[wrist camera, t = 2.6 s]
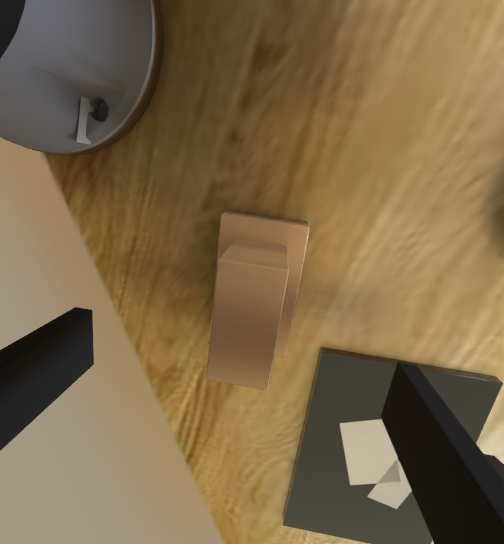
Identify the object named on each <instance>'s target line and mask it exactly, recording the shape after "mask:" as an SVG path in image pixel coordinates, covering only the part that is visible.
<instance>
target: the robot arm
mask: <svg viewBox="0 0 504 544" xmlns="http://www.w3.org/2000/svg"><path fill="white" fill-rule="evenodd" d="M161 58H162V22H161V14H160V8H159V3H158V0H0V137H2V138H3V139H5V140H8V141H10V142H12V143H15V144H18V145H21V146H23V147H26V148H29V149H32V150H36V151H41V152H47V153H54V154H61V155H81V154H88V153H91V152H95V151H98V150H101V149H103V148H106V147H107V146H109V145H111V144H113V143H114V142H116V141H117V140H119V139H120V138H122V137H123V136H124V135H125V134H126V133H127V132H128V131H129V130H130V129H131V128H132V127H133V126H134V125H135V124H136V122H137V121H138V120H139V118H140V117H141V116H142V114H143V112H144V111H145V109H146V107H147V105H148V103H149V101H150V99H151V97H152V95H153V92H154V89H155V86H156V83H157V79H158V75H159V71H160V65H161ZM92 326H93V322H92V310H89V309H83V308H77V307H75V308H73V309H72V310H70V311H68V312H66V313H65V314H63V315H61V316H59V317H58V318H56V319H54V320H52V321H51V322H49V323H47V324H45V325H44V326H42V327H40V328H38V329H37V330H35V331H33V332H31V333H29V334H28V335H26V336H24V337H23V338H21V339H19V340H17V341H15V342H14V343H12V344H10V345H8V346H7V347H5V348H3V349H1V350H0V450H2V449H3V448H4V447H5V446H6V445H7V444H8V443H9V442H10V441H11V440H12V439H13V438H15V437H16V436H17V435H18V434H19V433H20V432H21V431H22V430H23V429H24V428H25V427H26V426H27V425H29V424H30V423H31V422H32V421H33V420H34V419H35V418H36V417H37V416H38V415H39V414H40V413H42V412H43V411H44V410H45V409H46V408H47V407H48V406H49V405H50V404H51V403H52V402H53V401H55V400H56V399H57V398H58V397H59V396H60V395H61V394H62V393H63V392H64V391H65V390H66V389H67V388H69V387H70V386H71V385H72V384H73V383H74V382H75V381H76V380H77V379H78V378H79V377H80V376H82V375H83V374H84V373H85V372H86V371H87V370H88V369H89V368H90V367H91V366H92V365H93V364H94V360H93V359H94V358H93V327H92ZM380 417H381V419H382V421H383V424H384V426H385V428H386V431H387V433H388V435H389V438H390V440H391V443H392V445H393V447H394V450H395V452H396V454H397V457H398V459H399V461H400V464H401V466H402V469H403V471H404V473H405V476H406V478H407V480H408V483H409V485H410V487H411V490H412V492H413V495H414V497H415V499H416V502H417V504H418V506H419V509H420V511H421V513H422V516H423V518H424V521H425V523H426V525H427V528H428V530H429V532H430V535H431V537H432V539H433V542H434V544H504V464H503V463H502V462H500V461H499V460H498V459H497V458H496V457H495V456H492V455H486V454H483V453H482V451H481V450H480V449H479V447H478V446H477V445H476V443H475V442H474V441H473V439H472V438H471V437H470V435H469V434H468V433H467V431H466V430H465V429H464V427H463V426H462V425H461V423H460V422H459V421H458V419H457V418H456V417H455V415H454V414H453V413H452V411H451V410H450V409H449V407H448V406H447V405H446V403H445V402H444V401H443V399H442V398H441V397H440V395H439V394H438V393H437V391H436V390H435V389H434V387H433V386H432V385H431V383H430V382H429V381H428V379H427V378H426V377H425V376H424V374H423V373H422V372H421V370H420V369H419V368H418V366H417V365H413V364H407V363H401V362H397V366H396V369H395V372H394V375H393V378H392V381H391V385H390V388H389V391H388V394H387V397H386V401H385V404H384V407H383V410H382V413H381V416H380Z"/></svg>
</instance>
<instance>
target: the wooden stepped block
mask: <svg viewBox="0 0 504 544" xmlns="http://www.w3.org/2000/svg"><path fill="white" fill-rule="evenodd" d="M309 230H310V226H309V224H308V223H307V222H303V221H296V220H289V219H282V218H275V217H268V216H261V215H254V214H247V213H240V212H233V211H226V212H224V213H222V214H221V219H220V230H219V240H218V250H217V260H216V271H215V281H214V291H213V301H212V312H211V322H210V332H209V342H208V343H209V344H210V345H209V355H208V365H207V375H206V379H207V380H212V381H217V382H223V383H228V384H234V385H239V386H245V387H250V388H256V389H262V390H268V388H269V383H270V377H271V371H272V365H273V360H274V355H275V356H280V357H286V353H287V347H288V342H289V337H290V331H291V326H292V321H293V315H294V310H295V305H296V299H297V294H298V289H299V283H300V278H301V273H302V267H303V262H304V257H305V251H306V246H307V241H308V236H309Z"/></svg>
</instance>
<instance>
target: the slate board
mask: <svg viewBox="0 0 504 544" xmlns="http://www.w3.org/2000/svg"><path fill="white" fill-rule="evenodd" d="M397 362H401V363H407V364H413V365H417V366H418V368H419V369H420V370H421V372H422V373H423V374H424V376H425V377H426V378H427V379H428V381H429V382H430V383H431V385H432V386H433V387H434V389H435V390H436V391H437V393H438V394H439V395H440V397H441V398H442V399H443V401H444V402H445V403H446V405H447V406H448V407H449V409H450V410H451V411H452V413H453V414H454V415H455V417H456V418H457V419H458V421H459V422H460V423H461V425H462V426H463V427H464V429H465V430H466V431H467V433H468V434H469V435H470V437H471V438H472V439H473V441H474V442H475V443H476V442H477V440H478V438H479V435H480V433H481V431H482V429H483V426H484V424H485V422H486V420H487V418H488V415H489V413H490V411H491V409H492V407H493V404H494V402H495V400H496V398H497V395H498V393H499V391H500V389H501V387H502V384H503V383H502V382H501V381H500V380H499V379H498V378H497V377H493V376H487V375H481V374H475V373H469V372H463V371H458V370H452V369H446V368H440V367H434V366H428V365H422V364H416V363H410V362H404V361H398V360H392V359H387V358H381V357H375V356H369V355H363V354H357V353H351V352H345V351H339V350H333V349H327V348H321V352H320V356H319V360H318V365H317V369H316V374H315V378H314V382H313V387H312V391H311V396H310V400H309V405H308V409H307V413H306V418H305V422H304V427H303V431H302V436H301V440H300V444H299V449H298V453H297V458H296V462H295V466H294V471H293V475H292V480H291V484H290V489H289V493H288V497H287V502H286V506H285V511H284V515H283V525H284V526H289V527H293V528H298V529H303V530H308V531H313V532H317V533H322V534H327V535H332V536H337V537H341V538H346V539H351V540H356V541H360V542H365V543H370V544H431V542H432V540H433V539H432V537H431V535H430V532H429V530H428V528H427V525H426V523H425V521H424V518H423V516H422V513H421V511H420V509H419V506H418V504H417V502H416V499H415V497H414V495H413V492H412V490H411V487H410V485H409V483H408V480H407V478H406V476H405V473H404V471H403V469H402V466H401V464H400V461H399V459H398V457H397V454H396V452H395V450H394V447H393V445H392V443H391V440H390V438H389V435H388V433H387V431H386V428H385V426H384V424H383V421H382V419H381V417H380V416H381V413H382V410H383V407H384V404H385V401H386V397H387V394H388V391H389V388H390V385H391V381H392V378H393V375H394V372H395V369H396V366H397Z"/></svg>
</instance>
